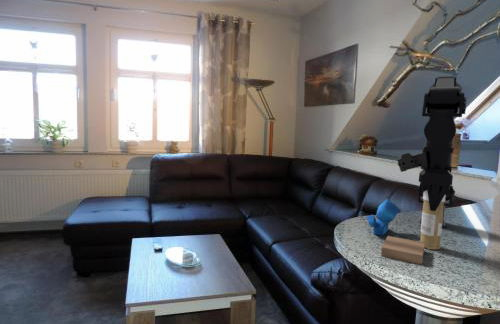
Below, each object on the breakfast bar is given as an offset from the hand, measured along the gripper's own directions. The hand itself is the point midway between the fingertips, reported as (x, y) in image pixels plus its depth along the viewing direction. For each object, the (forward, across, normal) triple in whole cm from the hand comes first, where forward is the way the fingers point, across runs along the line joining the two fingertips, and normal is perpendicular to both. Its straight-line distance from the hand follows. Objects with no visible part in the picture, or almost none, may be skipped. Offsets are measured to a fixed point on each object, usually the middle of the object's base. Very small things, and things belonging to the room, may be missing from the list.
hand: (433, 208), depth 78 cm
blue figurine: (+10, -5, -12) cm, 16 cm away
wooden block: (+10, +8, -5) cm, 13 cm away
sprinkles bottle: (+10, 0, 0) cm, 10 cm away
